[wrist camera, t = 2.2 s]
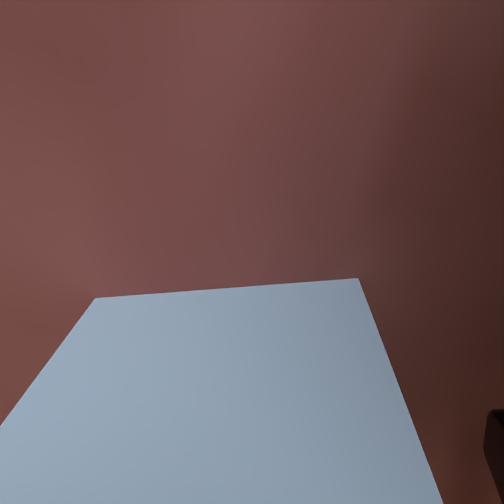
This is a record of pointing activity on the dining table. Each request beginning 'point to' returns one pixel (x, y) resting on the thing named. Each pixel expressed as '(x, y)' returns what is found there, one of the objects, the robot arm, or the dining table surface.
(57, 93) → the dining table surface
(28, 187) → the dining table surface
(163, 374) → the blue block
